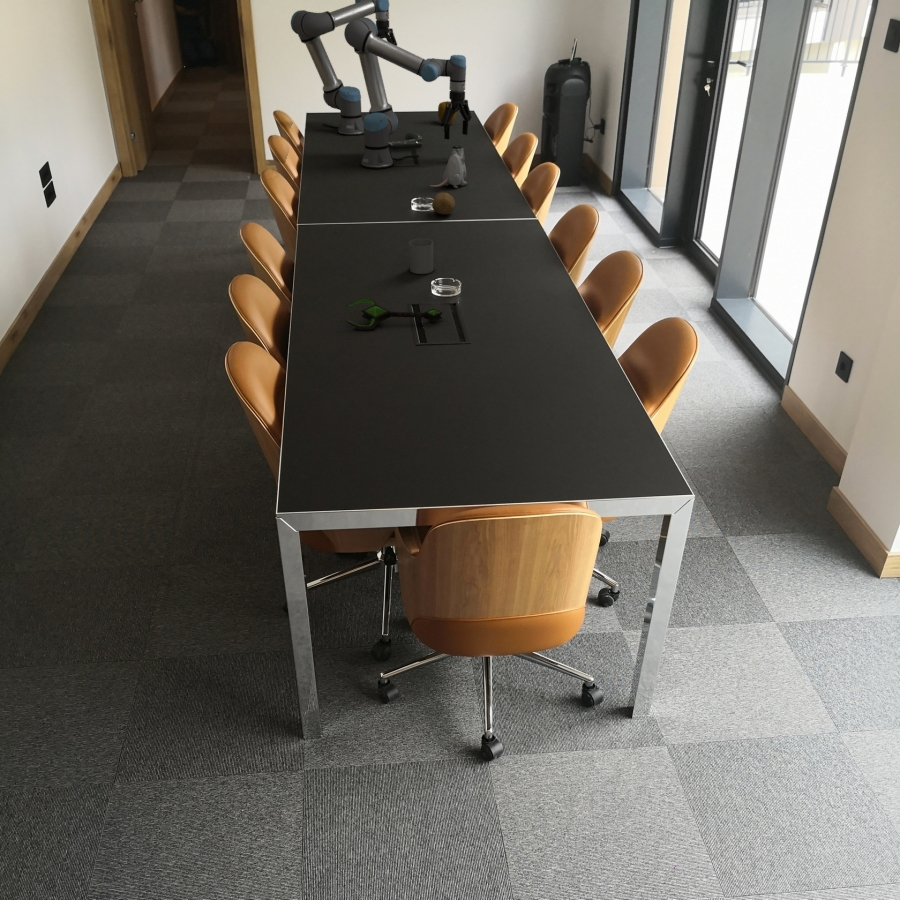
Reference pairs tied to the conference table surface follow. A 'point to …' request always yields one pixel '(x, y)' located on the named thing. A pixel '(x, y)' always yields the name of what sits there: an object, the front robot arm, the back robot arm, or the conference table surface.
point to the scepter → (389, 314)
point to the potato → (443, 203)
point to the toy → (454, 171)
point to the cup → (421, 256)
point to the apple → (441, 111)
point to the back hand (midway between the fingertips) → (383, 61)
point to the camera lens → (458, 150)
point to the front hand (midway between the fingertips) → (456, 136)
